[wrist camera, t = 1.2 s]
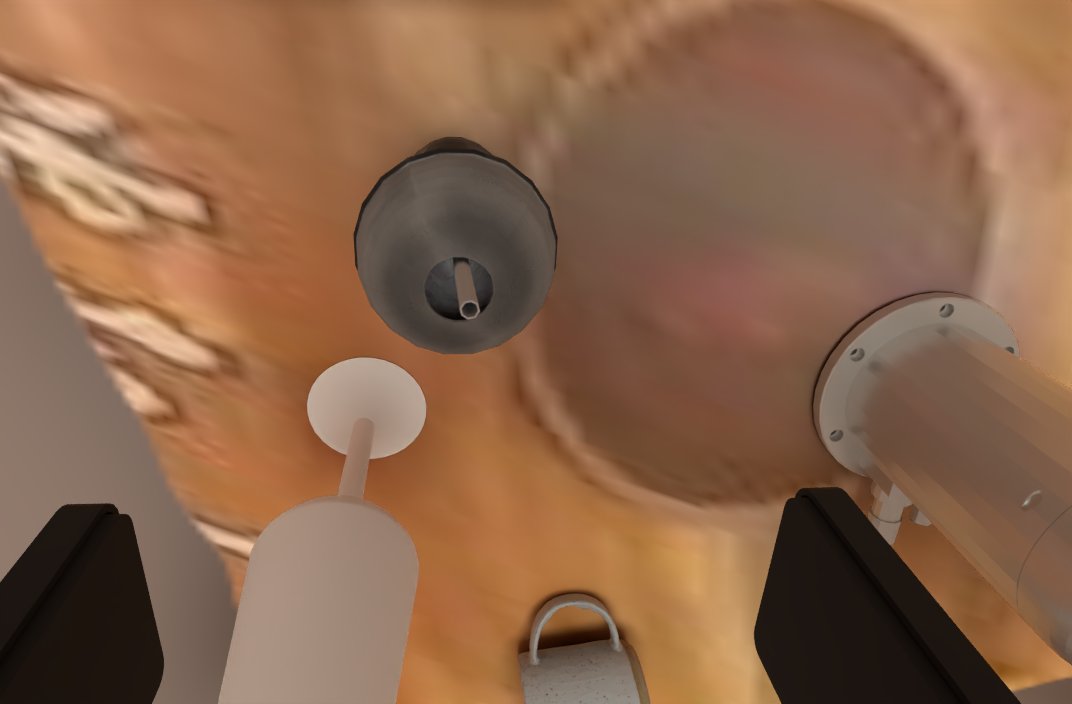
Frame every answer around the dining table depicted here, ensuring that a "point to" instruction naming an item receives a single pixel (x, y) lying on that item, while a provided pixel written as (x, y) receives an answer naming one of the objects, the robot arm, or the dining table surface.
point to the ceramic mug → (581, 664)
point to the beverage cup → (455, 248)
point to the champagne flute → (334, 561)
